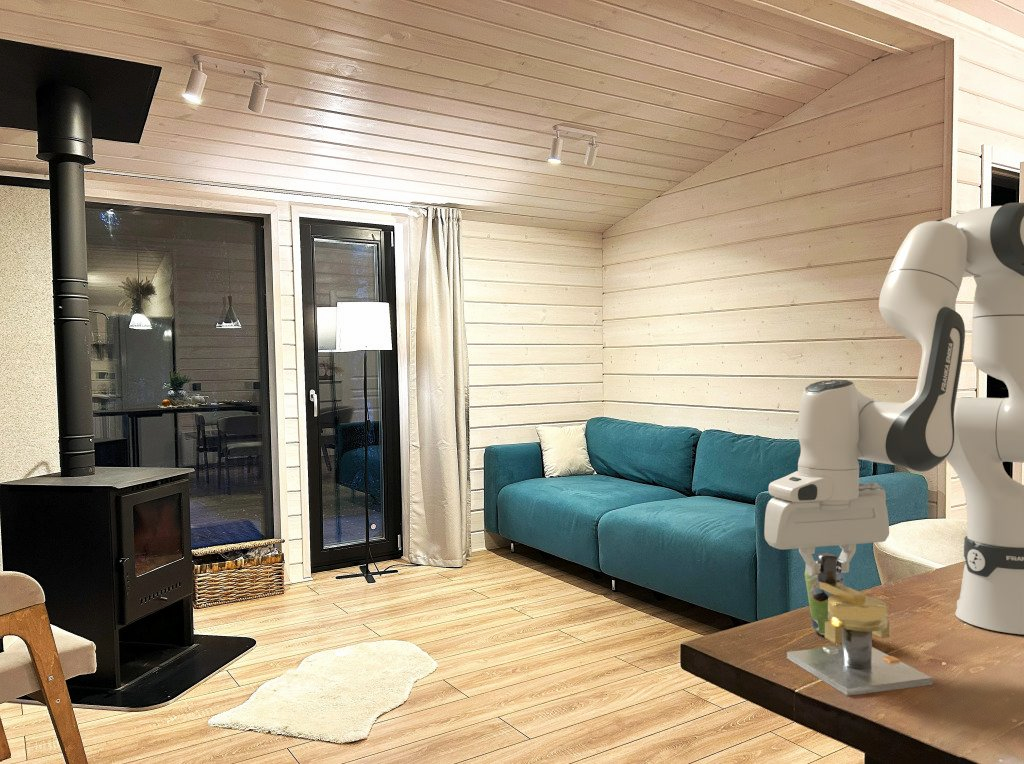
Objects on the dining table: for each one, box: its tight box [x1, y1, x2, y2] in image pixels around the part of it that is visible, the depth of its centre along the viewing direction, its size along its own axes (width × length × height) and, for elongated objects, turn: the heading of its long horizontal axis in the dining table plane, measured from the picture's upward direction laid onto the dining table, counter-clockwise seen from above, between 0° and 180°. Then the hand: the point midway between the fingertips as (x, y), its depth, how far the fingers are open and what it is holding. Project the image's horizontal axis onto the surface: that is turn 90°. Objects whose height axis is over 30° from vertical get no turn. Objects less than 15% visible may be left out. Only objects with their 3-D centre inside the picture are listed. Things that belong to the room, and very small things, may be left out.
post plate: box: [786, 628, 933, 697], centre depth 117 cm, size 14×14×7 cm
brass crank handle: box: [817, 552, 890, 644], centre depth 119 cm, size 9×12×10 cm
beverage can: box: [804, 560, 846, 636], centre depth 133 cm, size 6×7×12 cm
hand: (827, 573), depth 124 cm, fingers open, 4 cm apart
